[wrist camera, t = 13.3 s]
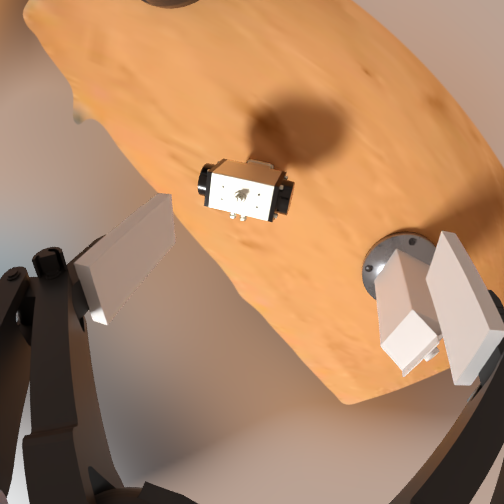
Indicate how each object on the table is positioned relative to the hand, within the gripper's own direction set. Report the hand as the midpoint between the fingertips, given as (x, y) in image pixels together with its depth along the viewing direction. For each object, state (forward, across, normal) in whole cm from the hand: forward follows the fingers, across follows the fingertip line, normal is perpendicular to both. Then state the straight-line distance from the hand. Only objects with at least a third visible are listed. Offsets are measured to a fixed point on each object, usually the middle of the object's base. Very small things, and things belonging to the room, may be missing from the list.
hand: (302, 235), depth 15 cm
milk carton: (+32, +16, -21) cm, 41 cm away
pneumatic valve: (+33, -9, -8) cm, 35 cm away
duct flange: (+33, +16, -21) cm, 42 cm away
